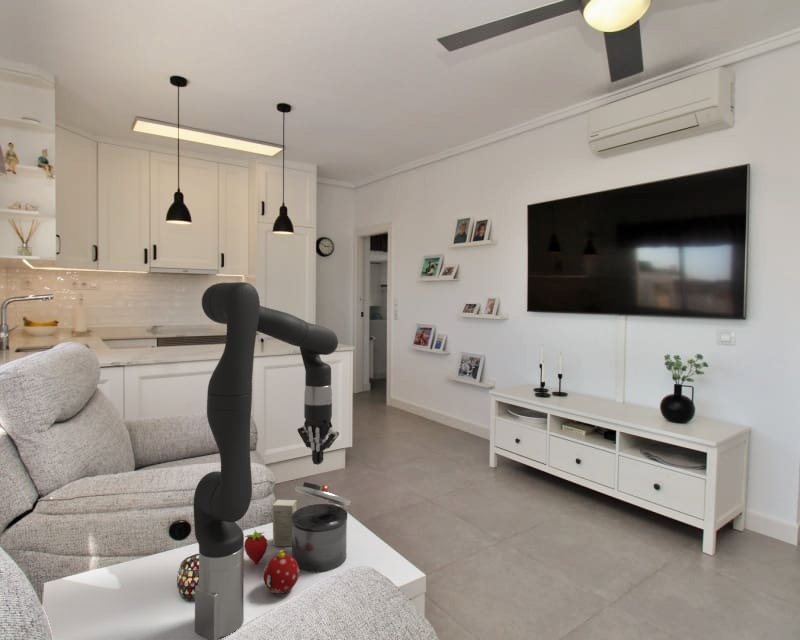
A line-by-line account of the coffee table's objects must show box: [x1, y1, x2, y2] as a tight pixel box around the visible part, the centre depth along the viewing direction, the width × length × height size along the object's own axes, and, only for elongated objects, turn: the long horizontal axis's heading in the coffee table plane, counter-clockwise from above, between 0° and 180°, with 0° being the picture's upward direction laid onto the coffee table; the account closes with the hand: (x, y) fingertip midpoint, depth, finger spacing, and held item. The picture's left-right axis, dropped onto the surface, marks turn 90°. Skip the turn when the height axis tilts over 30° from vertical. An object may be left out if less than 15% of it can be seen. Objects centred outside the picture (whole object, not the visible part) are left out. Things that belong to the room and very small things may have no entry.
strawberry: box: [244, 529, 268, 566], centre depth 130 cm, size 6×8×10 cm
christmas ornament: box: [262, 549, 300, 594], centre depth 118 cm, size 9×9×10 cm
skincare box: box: [271, 499, 298, 547], centre depth 142 cm, size 6×4×12 cm
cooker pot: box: [291, 503, 348, 573], centre depth 134 cm, size 15×15×12 cm
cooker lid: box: [294, 481, 351, 507], centre depth 135 cm, size 17×16×3 cm
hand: (317, 463), depth 132 cm, fingers closed
